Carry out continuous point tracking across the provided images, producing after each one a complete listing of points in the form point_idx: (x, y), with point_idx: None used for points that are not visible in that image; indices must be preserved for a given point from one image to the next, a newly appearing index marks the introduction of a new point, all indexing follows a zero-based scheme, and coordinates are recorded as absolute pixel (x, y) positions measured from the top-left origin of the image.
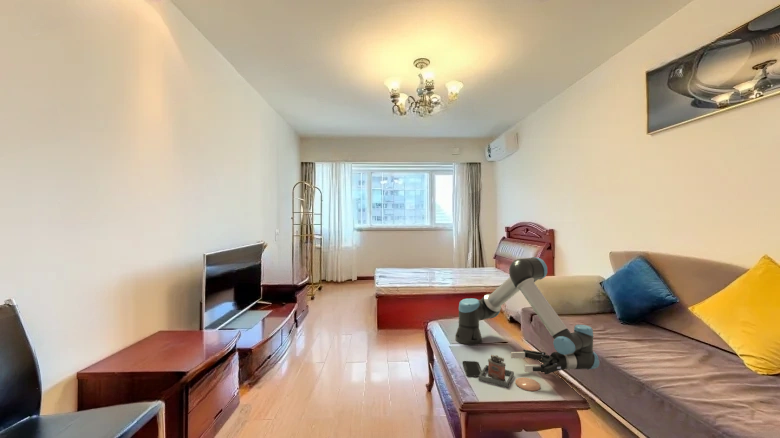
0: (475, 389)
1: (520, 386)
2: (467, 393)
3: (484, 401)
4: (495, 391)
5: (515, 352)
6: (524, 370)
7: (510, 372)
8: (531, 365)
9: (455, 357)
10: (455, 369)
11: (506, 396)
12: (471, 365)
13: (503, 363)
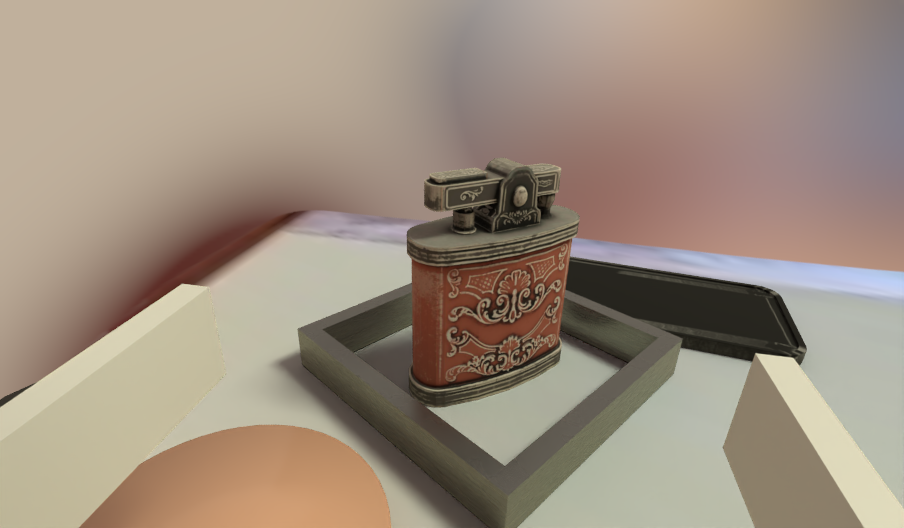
0: (383, 249)
1: (231, 431)
2: (365, 225)
3: (265, 240)
4: (313, 296)
5: (809, 418)
6: (224, 365)
7: (515, 467)
8: (97, 343)
9: (859, 295)
10: (636, 253)
11: (223, 314)
12: (704, 306)
13: (440, 239)
